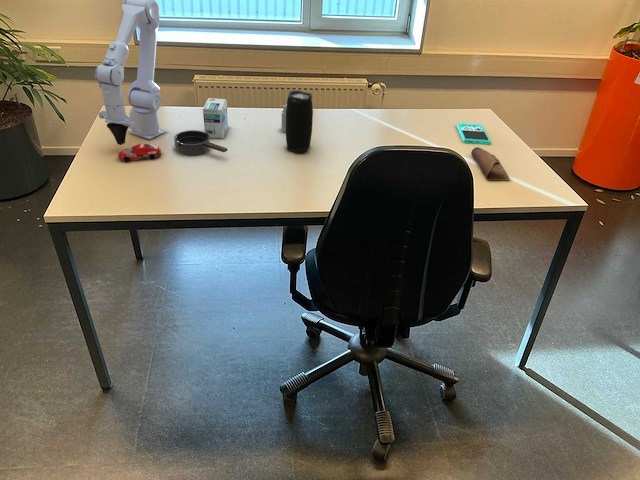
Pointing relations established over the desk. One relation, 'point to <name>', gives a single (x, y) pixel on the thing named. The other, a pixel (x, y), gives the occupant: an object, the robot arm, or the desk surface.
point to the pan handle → (215, 147)
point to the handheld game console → (473, 133)
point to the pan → (191, 142)
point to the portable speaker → (299, 121)
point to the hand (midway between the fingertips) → (121, 143)
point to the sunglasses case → (489, 165)
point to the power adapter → (284, 118)
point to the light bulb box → (215, 117)
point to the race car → (140, 152)
